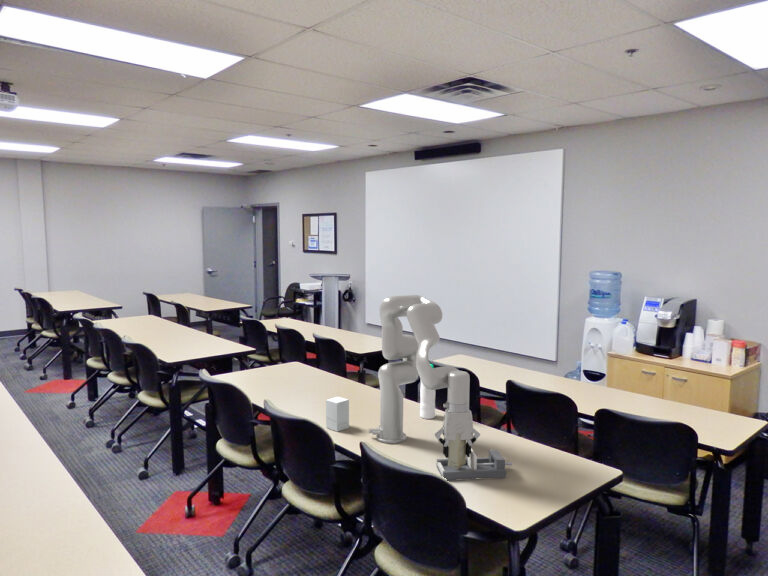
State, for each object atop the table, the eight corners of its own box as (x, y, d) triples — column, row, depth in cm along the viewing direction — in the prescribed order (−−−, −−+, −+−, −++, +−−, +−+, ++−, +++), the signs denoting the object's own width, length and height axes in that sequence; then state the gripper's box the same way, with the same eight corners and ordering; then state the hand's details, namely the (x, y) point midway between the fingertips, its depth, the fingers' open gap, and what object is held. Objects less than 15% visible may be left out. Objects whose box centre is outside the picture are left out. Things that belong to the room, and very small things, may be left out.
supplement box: (349, 427, 225) (349, 399, 224) (336, 432, 219) (336, 403, 218) (338, 423, 230) (338, 395, 229) (325, 427, 224) (325, 399, 223)
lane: (443, 480, 175) (443, 463, 175) (436, 466, 186) (437, 450, 186) (505, 478, 178) (506, 461, 177) (495, 464, 189) (496, 448, 188)
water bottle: (424, 420, 235) (425, 366, 233) (416, 415, 241) (417, 363, 239) (437, 418, 238) (439, 365, 236) (429, 413, 245) (430, 361, 243)
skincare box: (458, 469, 177) (459, 435, 176) (447, 466, 180) (447, 432, 179) (466, 463, 183) (467, 429, 182) (454, 460, 185) (455, 427, 184)
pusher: (473, 473, 178) (474, 456, 177) (467, 463, 186) (467, 447, 185) (515, 472, 179) (516, 454, 179) (507, 462, 187) (508, 445, 187)
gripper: (435, 410, 175) (434, 461, 176) (485, 409, 177) (484, 459, 178) (431, 403, 182) (430, 452, 184) (479, 402, 184) (477, 451, 186)
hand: (456, 455), depth 181 cm, fingers closed on skincare box, 7 cm apart
